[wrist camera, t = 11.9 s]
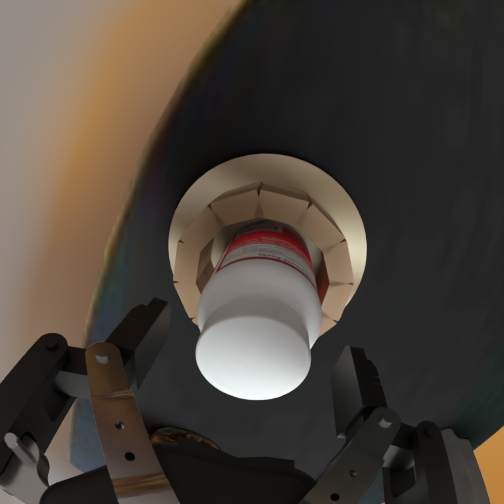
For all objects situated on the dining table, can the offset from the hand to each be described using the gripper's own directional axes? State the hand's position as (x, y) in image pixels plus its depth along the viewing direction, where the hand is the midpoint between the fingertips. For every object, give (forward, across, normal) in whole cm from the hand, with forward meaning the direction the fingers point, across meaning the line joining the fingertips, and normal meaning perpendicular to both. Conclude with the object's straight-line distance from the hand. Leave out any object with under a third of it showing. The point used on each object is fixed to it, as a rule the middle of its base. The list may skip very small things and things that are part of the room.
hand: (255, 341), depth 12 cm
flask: (+11, -38, +25) cm, 47 cm away
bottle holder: (+10, 0, 0) cm, 10 cm away
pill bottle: (+10, 0, 0) cm, 10 cm away
